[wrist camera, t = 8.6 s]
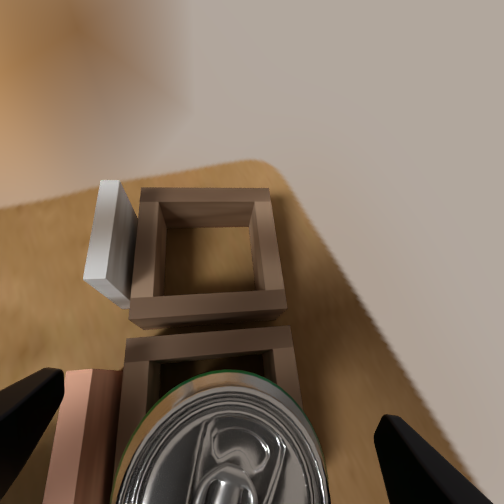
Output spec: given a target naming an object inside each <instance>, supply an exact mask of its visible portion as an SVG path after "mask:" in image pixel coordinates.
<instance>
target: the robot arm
mask: <svg viewBox="0 0 504 504" xmlns="http://www.w3.org/2000/svg"><path fill="white" fill-rule="evenodd" d="M64 394H65V387H64V373H63V371H62V370H61V369H56V368H49V367H48V368H43V369H41V370H39V371H37V372H35V373H33V374H31V375H30V376H28V377H26V378H24V379H22V380H20V381H18V382H16V383H14V384H12V385H10V386H8V387H6V388H5V389H3V390H1V391H0V500H1V499H2V497H3V496H4V495H5V493H6V492H7V490H8V489H9V487H10V486H11V485H12V483H13V482H14V480H15V479H16V477H17V476H18V474H19V473H20V471H21V470H22V468H23V467H24V465H25V464H26V462H27V460H28V459H29V457H30V456H31V454H32V452H33V450H34V449H35V447H36V445H37V444H38V442H39V440H40V438H41V437H42V435H43V433H44V432H45V430H46V428H47V426H48V425H49V423H50V421H51V420H52V418H53V416H54V414H55V413H56V411H57V409H58V408H59V406H60V404H61V402H62V400H63V398H64ZM374 444H375V448H376V452H377V456H378V460H379V464H380V468H381V472H382V476H383V480H384V483H385V487H386V491H387V495H388V499H389V503H390V504H493V503H492V502H491V501H490V500H489V499H488V498H487V497H486V496H485V495H483V494H482V493H481V492H480V491H479V490H478V489H477V488H476V487H475V486H474V485H473V484H472V483H471V482H469V481H468V480H467V479H466V478H465V477H464V476H463V475H462V474H461V473H460V472H459V471H458V470H457V469H455V468H454V467H453V466H452V465H451V464H450V463H449V462H448V461H447V460H446V459H445V458H444V457H443V456H441V455H440V454H439V453H438V452H437V451H436V450H435V449H434V448H433V447H432V446H431V445H430V444H429V443H427V442H426V441H425V440H424V439H423V438H422V437H421V436H420V435H419V434H418V433H417V432H416V431H415V430H413V429H412V428H411V427H410V426H409V425H408V424H407V423H406V422H405V421H404V420H403V419H402V418H400V417H399V416H395V415H388V414H385V415H383V416H382V418H381V420H380V422H379V424H378V426H377V429H376V431H375V433H374Z"/></svg>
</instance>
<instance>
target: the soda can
mask: <svg viewBox="0 0 504 504" xmlns="http://www.w3.org/2000/svg"><path fill="white" fill-rule="evenodd" d="M110 504H331V499H330V493H329V483H328V475H327V469H326V464H325V458H324V455H323V452H322V449H321V445H320V442H319V439H318V437H317V435H316V433H315V431H314V428H313V426H312V424H311V422H310V421H309V419H308V418H307V416H306V414H305V413H304V411H303V410H302V408H301V407H300V406H299V405H298V404H297V402H296V401H295V400H294V399H293V398H292V397H291V396H290V395H289V394H288V393H287V392H286V391H285V390H283V389H282V388H281V387H280V386H278V385H277V384H275V383H274V382H272V381H270V380H269V379H267V378H265V377H262V376H260V375H257V374H255V373H251V372H247V371H243V370H231V369H224V370H215V371H210V372H206V373H203V374H199V375H196V376H194V377H192V378H190V379H188V380H186V381H184V382H182V383H180V384H179V385H177V386H176V387H174V388H173V389H171V390H170V391H168V392H167V393H166V394H165V395H164V396H163V397H162V398H161V399H159V400H158V401H157V402H156V403H155V404H154V405H153V407H152V408H151V409H150V410H149V411H148V412H147V414H146V415H145V416H144V417H143V418H142V420H141V421H140V423H139V425H138V426H137V428H136V429H135V431H134V432H133V434H132V435H131V437H130V440H129V442H128V444H127V446H126V448H125V450H124V452H123V454H122V457H121V460H120V462H119V465H118V468H117V471H116V474H115V478H114V483H113V487H112V492H111V497H110Z"/></svg>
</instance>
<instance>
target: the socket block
mask: <svg viewBox="0 0 504 504" xmlns="http://www.w3.org/2000/svg"><path fill="white" fill-rule="evenodd" d="M201 227H249V234H250V243H251V252H252V261H253V271H254V280H255V289H256V291H243V292H226V293H209V294H191V295H174V296H164V282H165V258H166V235H167V228H201ZM83 280H84V281H86V282H87V283H88V284H90V285H91V286H92V287H94V288H95V289H96V290H98V291H99V292H100V293H102V294H103V295H104V296H105V297H107V298H108V299H109V300H111V301H112V302H113V303H115V304H116V305H117V306H119V307H120V308H121V309H129V320H130V321H131V322H133V323H134V324H136V325H137V326H139V327H140V328H142V329H143V330H149V329H162V328H175V327H188V326H201V325H215V324H228V323H241V322H254V321H267V320H276V319H277V318H278V317H279V316H280V315H281V314H282V313H283V312H284V311H285V310H286V309H287V302H286V295H285V289H284V283H283V276H282V270H281V263H280V257H279V250H278V244H277V238H276V231H275V225H274V218H273V212H272V205H271V199H270V193H269V188H141V196H140V206H139V216H138V218H137V216H136V214H135V212H134V210H133V208H132V205H131V203H130V201H129V199H128V197H127V195H126V193H125V191H124V189H123V187H122V184H121V182H120V180H101V182H100V187H99V193H98V199H97V204H96V210H95V215H94V221H93V226H92V232H91V237H90V243H89V249H88V254H87V260H86V265H85V271H84V276H83ZM257 354H263V364H264V373H265V378H267V379H269V380H270V381H272V382H274V383H275V384H277V385H278V386H280V387H281V388H282V389H283V390H285V391H286V392H287V393H288V394H289V395H290V396H291V397H292V398H293V399H294V400H295V401H296V402H297V404H298V405H299V406H300V407H301V408H302V410H303V405H302V398H301V392H300V386H299V379H298V373H297V366H296V360H295V353H294V347H293V341H292V334H291V328H290V325H288V326H275V327H263V328H251V329H238V330H226V331H213V332H201V333H189V334H176V335H164V336H151V337H139V338H127V340H126V350H125V360H124V371H115V370H102V369H85V370H75V371H66V376H65V382H64V387H65V394H64V398H63V400H62V402H61V404H60V410H59V415H58V421H57V426H56V432H55V437H54V443H53V448H52V454H51V460H50V465H49V471H48V476H47V482H46V487H45V493H44V498H43V504H110V497H111V492H112V487H113V483H114V478H115V474H116V471H117V468H118V465H119V462H120V460H121V457H122V454H123V452H124V450H125V448H126V446H127V444H128V442H129V440H130V437H131V435H132V434H133V432H134V431H135V429H136V428H137V426H138V425H139V423H140V421H141V420H142V418H143V417H144V416H145V415H146V414H147V412H148V411H149V410H150V409H151V408H152V407H153V405H154V404H155V403H156V402H157V401H158V400H159V398H160V374H161V364H164V363H175V362H185V361H195V360H206V359H216V358H226V357H237V356H247V355H257Z"/></svg>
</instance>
